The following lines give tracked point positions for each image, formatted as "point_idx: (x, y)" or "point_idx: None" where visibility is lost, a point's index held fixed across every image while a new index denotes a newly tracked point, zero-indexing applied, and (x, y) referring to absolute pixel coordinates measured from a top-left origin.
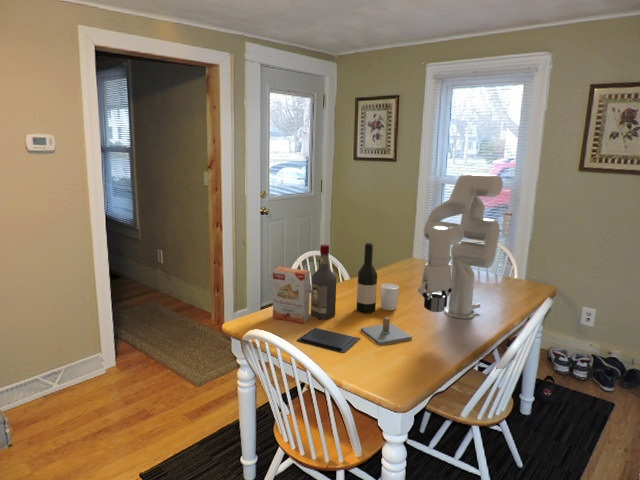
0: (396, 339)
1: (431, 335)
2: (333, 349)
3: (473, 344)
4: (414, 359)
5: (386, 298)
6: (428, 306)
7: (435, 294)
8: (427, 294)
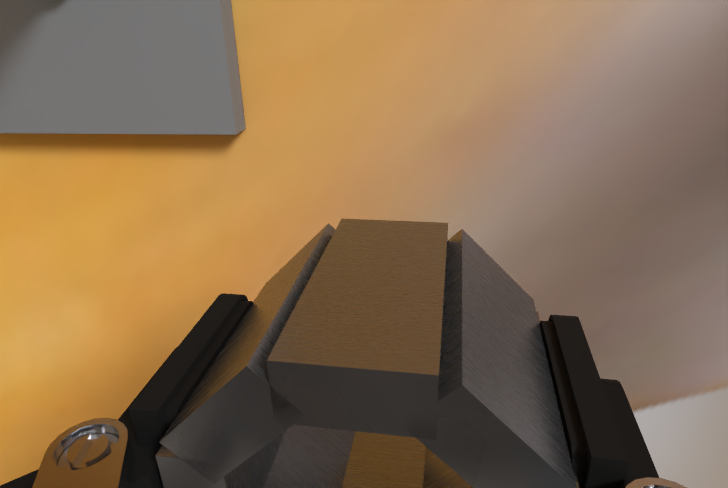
0: (91, 132)
1: (460, 116)
2: None
3: (647, 369)
4: (132, 368)
5: None
6: None
7: (434, 439)
8: (210, 399)
